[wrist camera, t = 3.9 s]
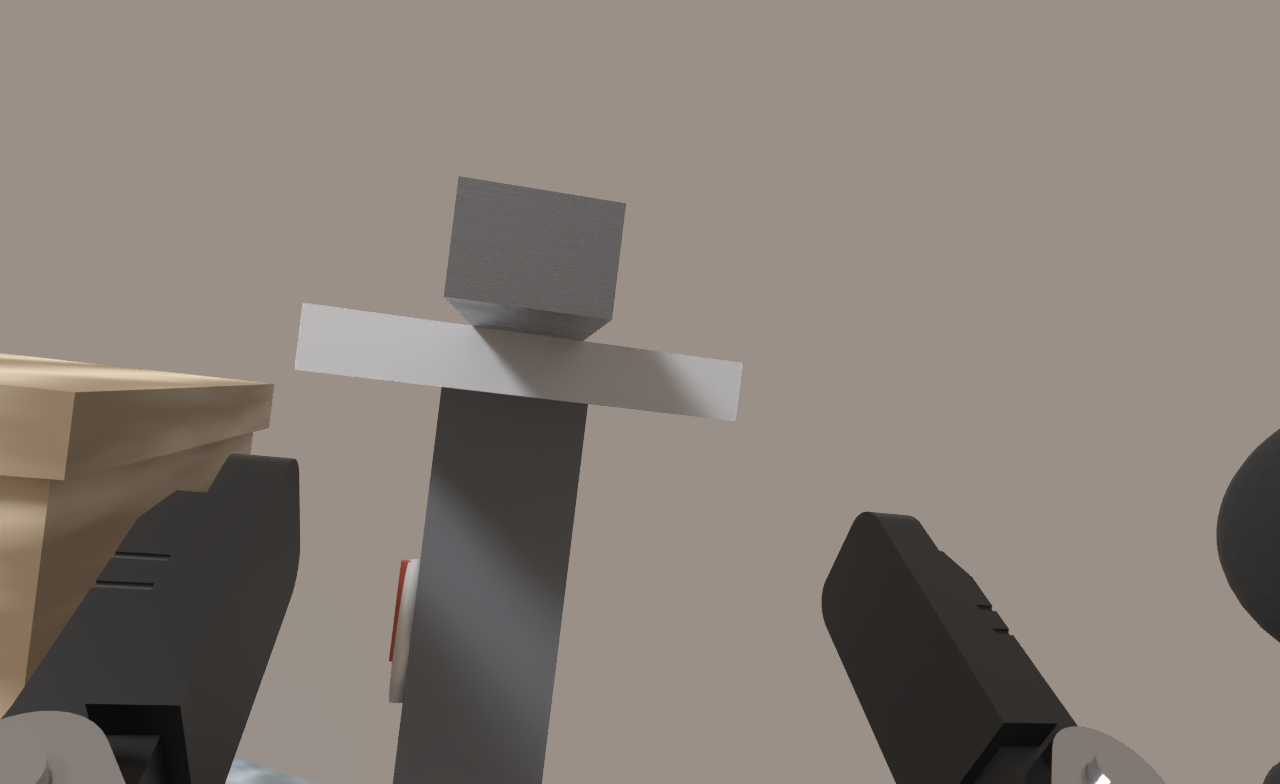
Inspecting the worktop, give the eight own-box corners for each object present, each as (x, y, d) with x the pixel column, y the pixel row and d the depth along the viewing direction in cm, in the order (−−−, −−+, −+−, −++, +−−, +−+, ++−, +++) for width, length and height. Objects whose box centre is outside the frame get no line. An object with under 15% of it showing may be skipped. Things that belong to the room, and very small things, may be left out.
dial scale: (568, 942, 40) (638, 367, 40) (629, 1301, 25) (742, 362, 25) (296, 956, 37) (373, 333, 37) (168, 1379, 21) (302, 302, 22)
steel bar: (560, 357, 39) (566, 311, 39) (611, 319, 15) (625, 203, 16) (495, 349, 39) (501, 302, 39) (443, 296, 15) (458, 176, 15)
